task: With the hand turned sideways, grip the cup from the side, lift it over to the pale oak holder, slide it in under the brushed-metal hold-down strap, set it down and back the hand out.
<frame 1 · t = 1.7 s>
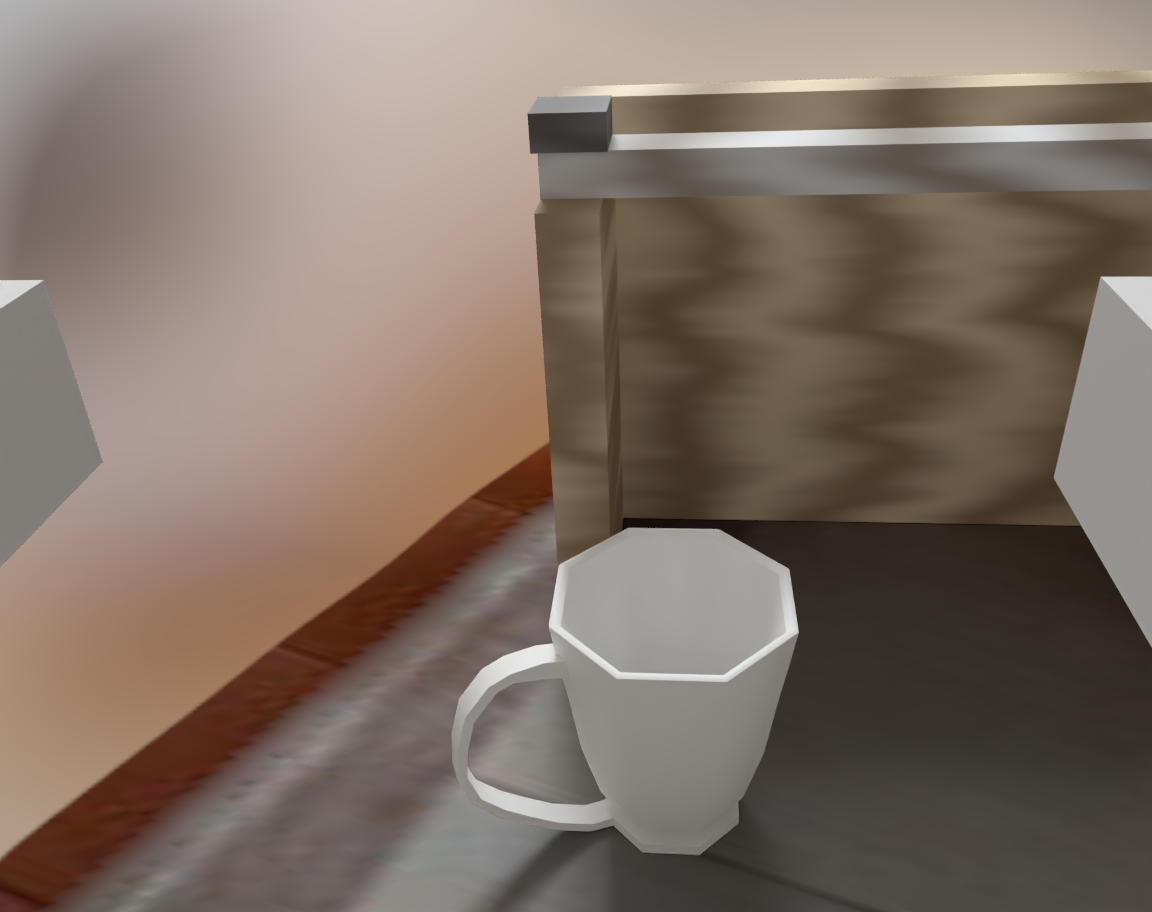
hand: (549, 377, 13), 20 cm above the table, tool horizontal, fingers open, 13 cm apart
cup: (626, 815, 31), on the table
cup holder: (863, 563, 41), on the table
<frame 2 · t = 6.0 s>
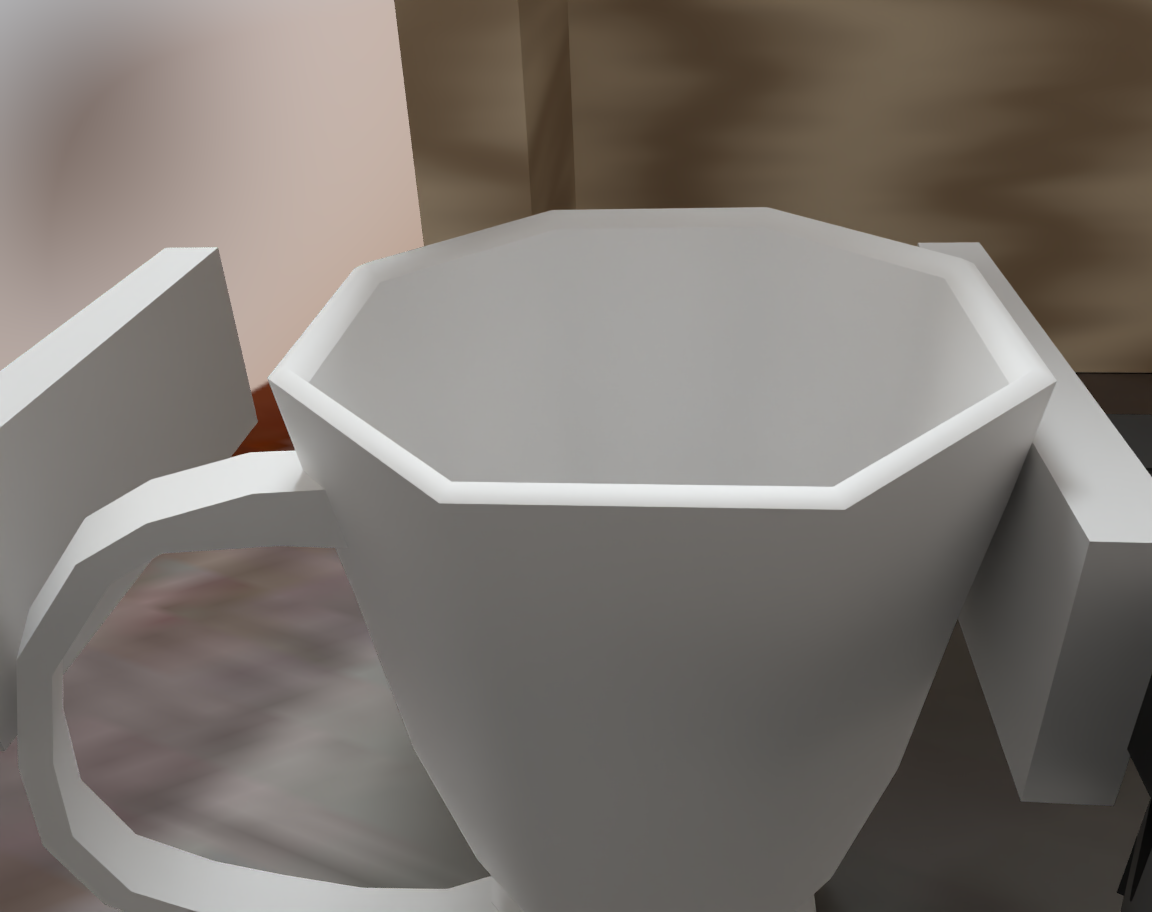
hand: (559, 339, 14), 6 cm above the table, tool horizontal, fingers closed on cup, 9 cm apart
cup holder: (1002, 428, 23), on the table
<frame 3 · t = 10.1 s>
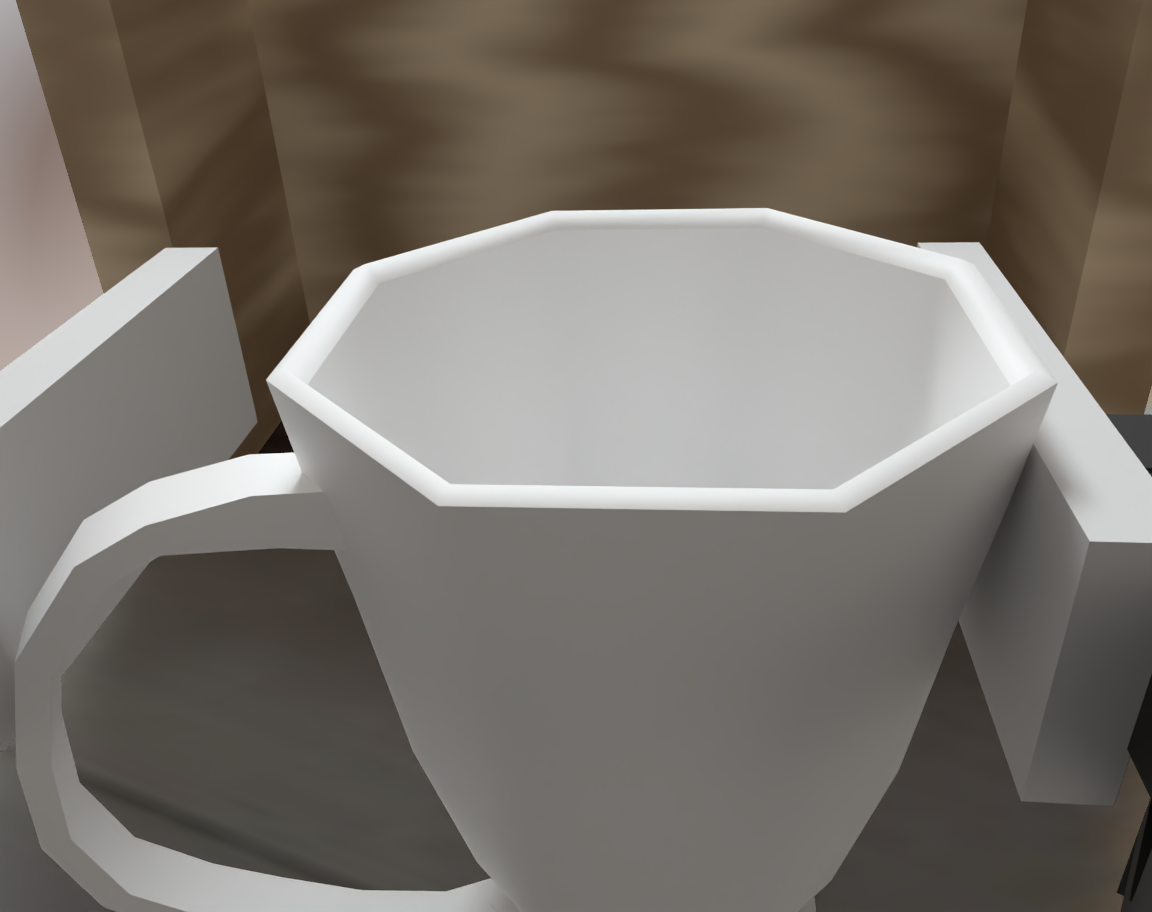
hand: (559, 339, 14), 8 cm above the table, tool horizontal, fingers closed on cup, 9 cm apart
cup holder: (625, 416, 29), on the table
when the fingers open (7 cm above the table, at t = 14.4 s): cup stays where it is, on the table.
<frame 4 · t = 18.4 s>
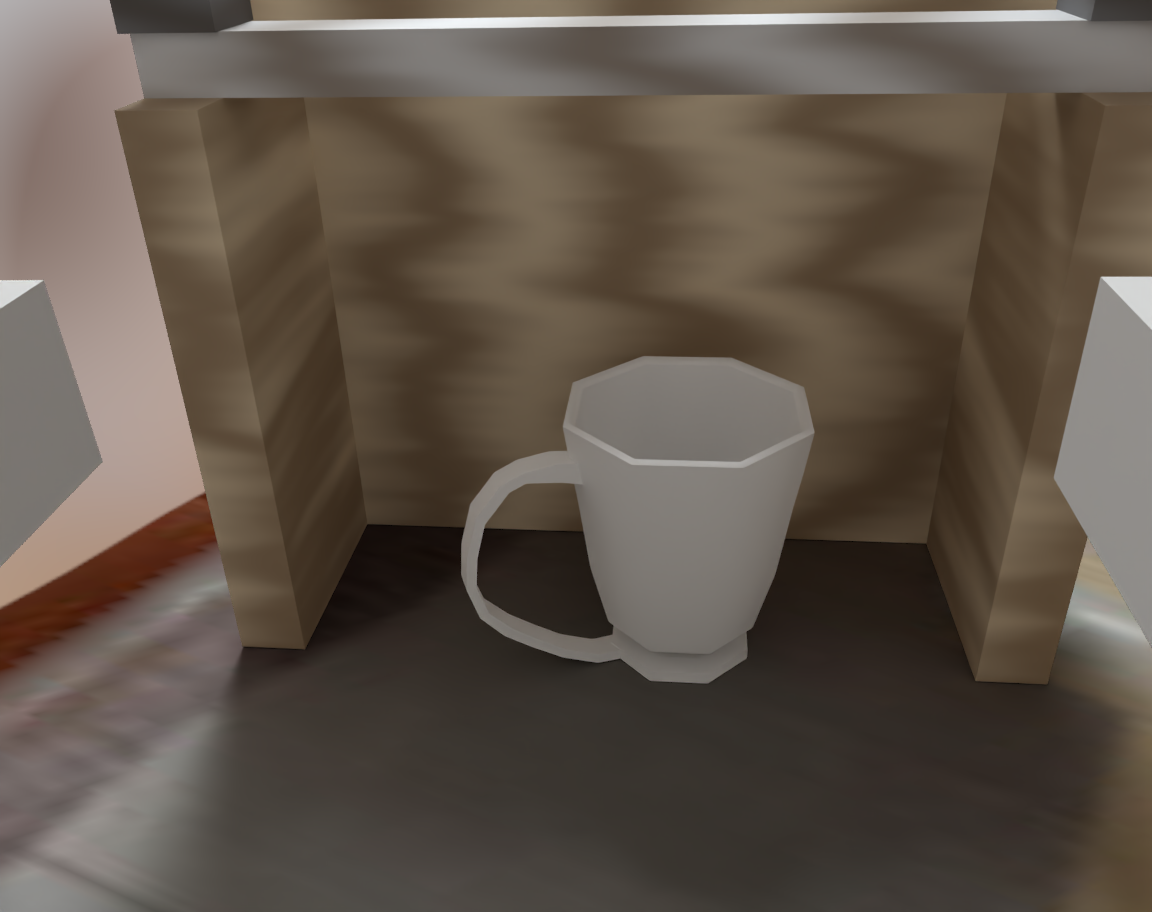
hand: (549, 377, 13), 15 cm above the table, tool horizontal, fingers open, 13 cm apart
cup: (633, 652, 31), on the table
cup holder: (635, 583, 34), on the table
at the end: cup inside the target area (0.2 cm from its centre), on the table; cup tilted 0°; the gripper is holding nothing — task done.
